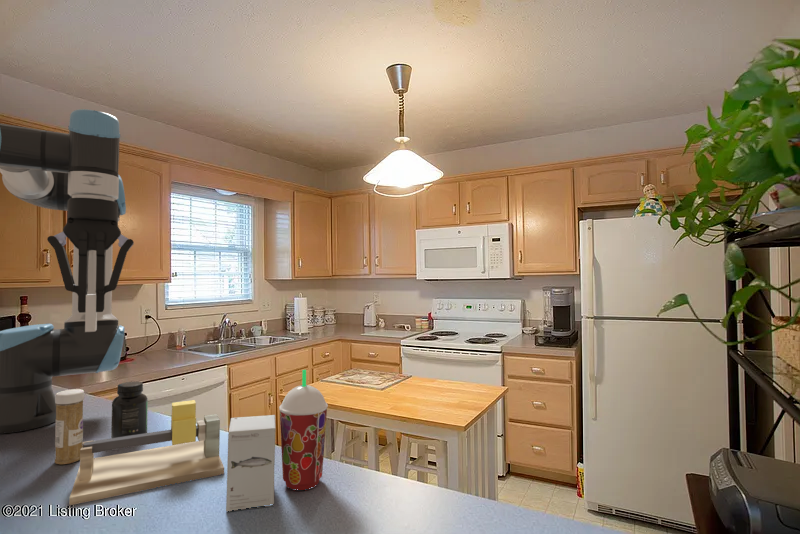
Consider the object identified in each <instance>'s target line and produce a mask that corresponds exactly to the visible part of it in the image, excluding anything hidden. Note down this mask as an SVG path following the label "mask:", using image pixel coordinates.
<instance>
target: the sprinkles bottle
mask: <svg viewBox="0 0 800 534" xmlns="http://www.w3.org/2000/svg"><path fill="white" fill-rule="evenodd" d="M84 400H85V391H84V390H83V389H80V388H73V389H66V390H62V391H58V392H56V393H55V403H56V421H55V429H54V431H55V436H54V446H55V456H54V457H55V458H54V463H55V464H56V465H69V464H73V463H75V462H78V461H80V449H81V448H82V444H83V442H84V438H83V437H84V418H83V417H84V414H83V413H84V412H83V411H84V409H83V408H84Z"/></svg>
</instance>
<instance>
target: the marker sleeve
mask: <svg viewBox="0 0 800 534" xmlns="http://www.w3.org/2000/svg"><path fill="white" fill-rule="evenodd" d="M196 408H197V403H196V400H195V399H193V400H185V401H177V402H171V417H170V418H171V421H170V423H171V424H170V430H171V429H172V441H171V446H172V445H178V444H184V443H190V442H196V441H197V439H196V438H197V437H196V426H197V417H196V416H197V411H196V410H197V409H196Z"/></svg>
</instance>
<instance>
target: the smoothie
mask: <svg viewBox="0 0 800 534" xmlns="http://www.w3.org/2000/svg"><path fill="white" fill-rule="evenodd" d="M301 372H302V376H301V377H302V380H301V385H297V386H295V387H293V388H292V389H290V390H289V391H288V392H287V393H286V395H285V397H284V398H283V401H282V402H281V404H280V405H279V407H278V409H279V420H280V421H279V423H280V443H281V444H280V445H281V447H280V449H281V467H282V480H283V481H284V482H285V485H286V487H287V488H288V487H289V488H291V489H296V490H297V489H298V490H305V489H309V488H311V487H314V486H315V485H317V484H318V483H319V484H320V480H321V478H322V477H323V470H324V469H323V468H324V455H325V440H326V425H327V416H328V415H327V414H328V413H327V412H328V407H329V405H328V403H327V402H326V400H325V397H324V395H323V394H322V392H321V391H320V390H319V389H318V388H316V387H314V386H312V385H309V384H307V369H302V371H301ZM319 484H318V485H319ZM318 485H317V486H318ZM289 488H288V489H289ZM314 488H315V487H314ZM291 489H290V490H291ZM309 490H310V489H309ZM305 491H306V490H305Z"/></svg>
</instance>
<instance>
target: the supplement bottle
mask: <svg viewBox="0 0 800 534" xmlns="http://www.w3.org/2000/svg"><path fill="white" fill-rule="evenodd" d="M143 392H144V382H142V381H127V382H122V383H119V384H118V385H117V391H116V394H117V396H115V397H114V398H113V400H112V401H111V422H110V423H111V428H110V429H111V430H110V433H111V434H110V435H111V436H110V438H117V437H124V436H131V435H138V434H144V433H148V415H149V414H148V411H149V410H148V407H149V405H148V404H149V403H148V402H149V399H148V396H147V395H146V394H145V393H143Z"/></svg>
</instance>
